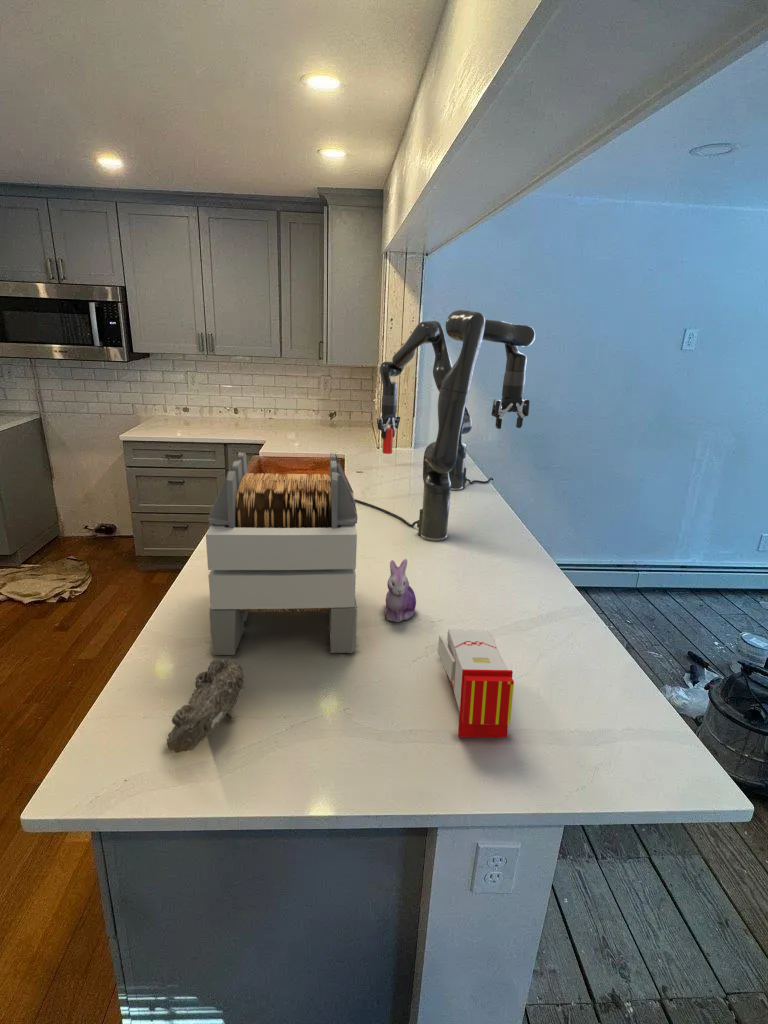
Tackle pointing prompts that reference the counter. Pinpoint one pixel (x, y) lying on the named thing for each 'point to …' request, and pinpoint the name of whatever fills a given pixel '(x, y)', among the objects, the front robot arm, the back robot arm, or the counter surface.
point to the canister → (388, 441)
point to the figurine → (399, 594)
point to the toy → (478, 682)
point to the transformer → (282, 551)
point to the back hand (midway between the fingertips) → (387, 437)
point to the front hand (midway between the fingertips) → (508, 428)
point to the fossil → (206, 705)
